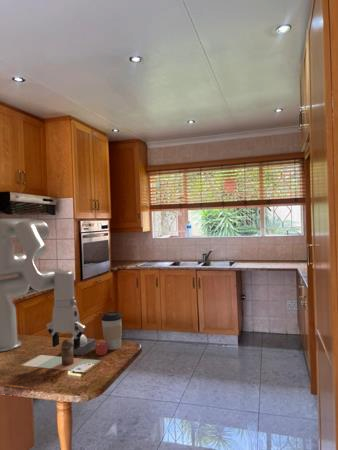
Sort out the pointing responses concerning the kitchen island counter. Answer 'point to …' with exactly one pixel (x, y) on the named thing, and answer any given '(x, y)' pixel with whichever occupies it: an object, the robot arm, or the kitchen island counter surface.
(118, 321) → the coffee cup
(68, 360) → the walnut pawn
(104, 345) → the red die
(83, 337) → the dome
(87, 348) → the base
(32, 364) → the game board
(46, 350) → the kitchen island counter surface
